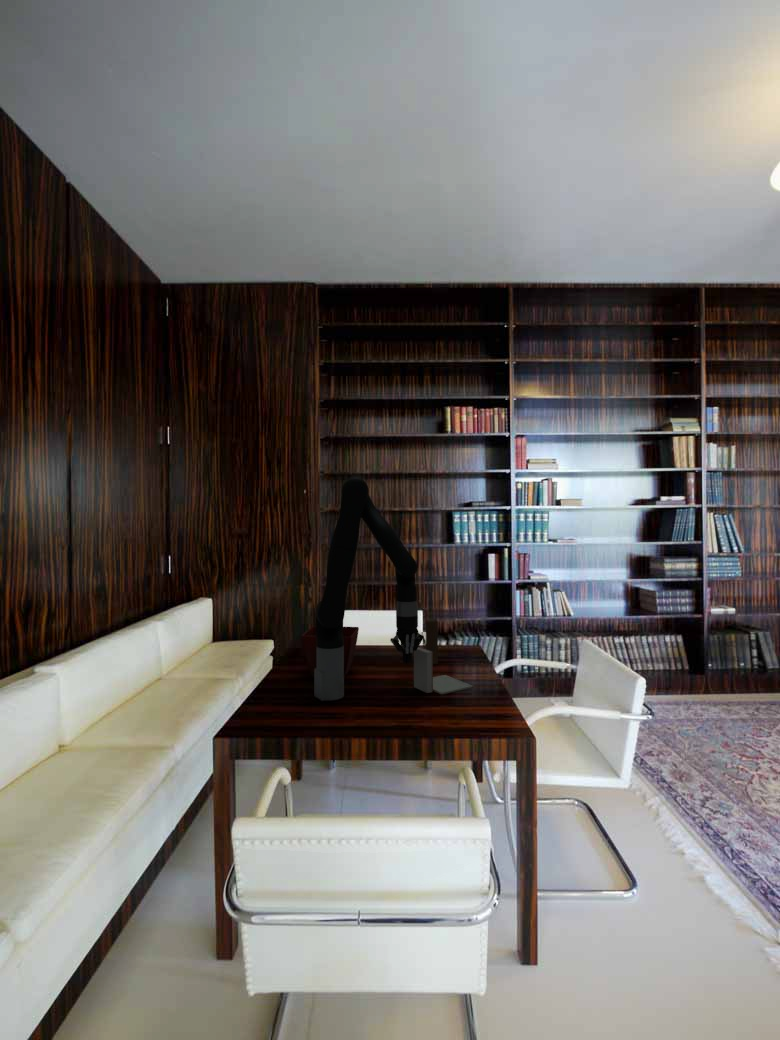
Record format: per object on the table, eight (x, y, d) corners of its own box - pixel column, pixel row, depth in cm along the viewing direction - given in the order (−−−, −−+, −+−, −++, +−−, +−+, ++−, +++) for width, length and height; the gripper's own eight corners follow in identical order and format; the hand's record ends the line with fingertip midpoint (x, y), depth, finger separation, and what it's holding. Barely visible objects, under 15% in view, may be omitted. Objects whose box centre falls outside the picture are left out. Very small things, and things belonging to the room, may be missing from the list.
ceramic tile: (427, 693, 184) (426, 652, 184) (414, 687, 191) (413, 648, 191) (432, 691, 186) (432, 651, 186) (419, 685, 193) (419, 647, 193)
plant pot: (359, 667, 217) (359, 626, 217) (351, 681, 198) (351, 636, 198) (313, 666, 219) (313, 625, 219) (301, 680, 200) (300, 635, 200)
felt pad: (441, 694, 183) (441, 692, 183) (415, 682, 196) (415, 680, 196) (472, 687, 190) (472, 685, 190) (445, 676, 204) (445, 674, 204)
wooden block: (416, 664, 220) (416, 621, 220) (415, 661, 225) (415, 619, 225) (438, 664, 221) (437, 621, 220) (436, 661, 225) (436, 619, 225)
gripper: (396, 617, 178) (397, 669, 178) (428, 613, 185) (429, 663, 185) (385, 614, 184) (385, 664, 185) (416, 610, 191) (417, 658, 191)
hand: (407, 663), depth 185 cm, fingers closed
